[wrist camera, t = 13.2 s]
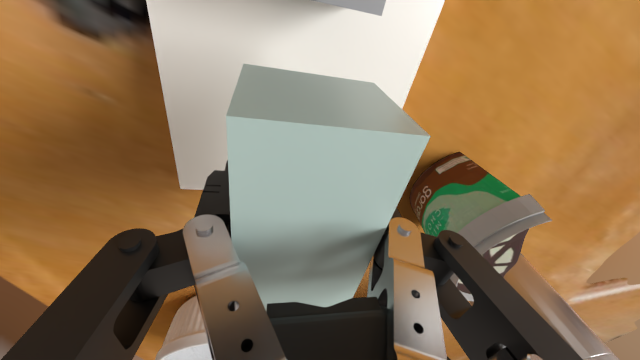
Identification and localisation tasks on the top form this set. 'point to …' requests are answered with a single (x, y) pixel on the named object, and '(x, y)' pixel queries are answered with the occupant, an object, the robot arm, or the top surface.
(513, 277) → the robot arm
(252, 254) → the pale green block
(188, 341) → the ramekin
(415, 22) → the base plate
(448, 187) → the halved ice cream tub
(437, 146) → the top surface
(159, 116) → the top surface
